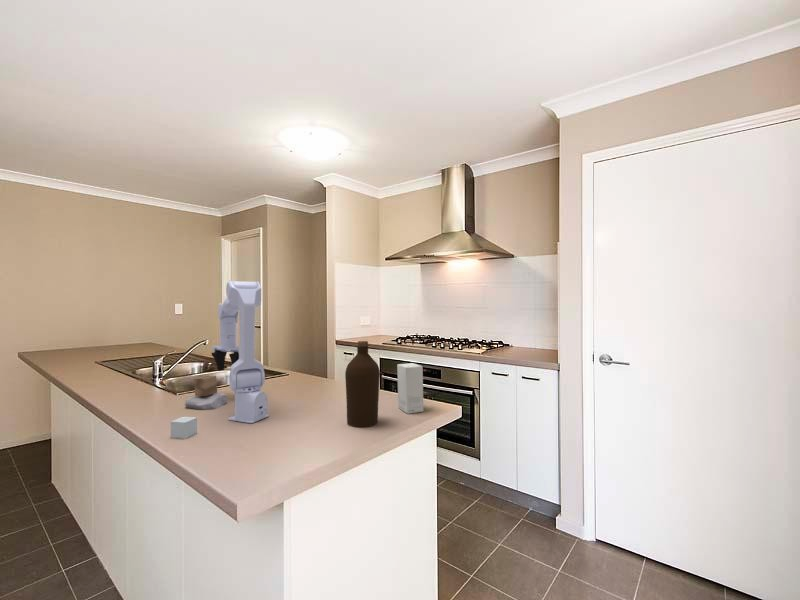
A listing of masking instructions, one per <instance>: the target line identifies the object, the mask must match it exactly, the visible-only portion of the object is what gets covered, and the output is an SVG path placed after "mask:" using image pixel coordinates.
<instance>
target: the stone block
mask: <svg viewBox="0 0 800 600" xmlns="http://www.w3.org/2000/svg"><path fill="white" fill-rule="evenodd" d="M227 401H228V397H227V395H226V394H225V393H223V392H217V393H214V394H211V395H208V396H195V395H192V396H190V397H188V398H187V399H185V404H184V406H185V408H187V409H194V410H195V409H196V410H203V411H204V410H206V411H207V410H215V409H218V408H219V409H220V408H221V407H222V406H223V405H225V404H227Z"/></svg>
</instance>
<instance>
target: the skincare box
mask: <svg viewBox="0 0 800 600" xmlns="http://www.w3.org/2000/svg"><path fill="white" fill-rule="evenodd" d="M396 365H397V367H396V369H397V399H398V400H397V407H398V409H399V410H401V411H403V412H404V413H405V414H407V415H410V414H416V413H424V375H423V374H424V373H423V372H424V369H423V367H424V366H423V365H420V364H417V363H414V362H410V363H399V364H396Z"/></svg>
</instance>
